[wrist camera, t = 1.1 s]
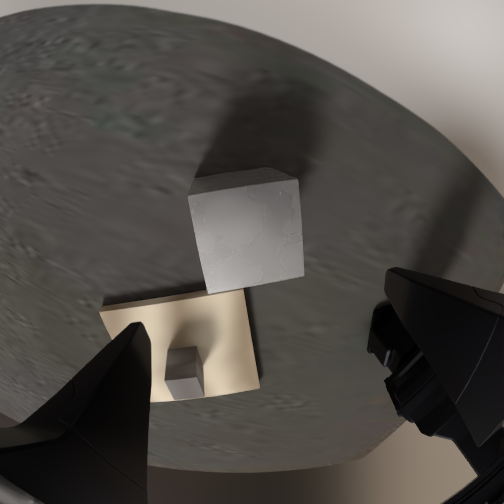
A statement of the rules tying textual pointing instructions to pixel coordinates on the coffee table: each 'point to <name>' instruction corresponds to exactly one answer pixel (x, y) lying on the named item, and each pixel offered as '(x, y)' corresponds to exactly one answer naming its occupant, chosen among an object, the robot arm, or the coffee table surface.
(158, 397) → the post board
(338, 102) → the coffee table surface
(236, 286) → the grey block
